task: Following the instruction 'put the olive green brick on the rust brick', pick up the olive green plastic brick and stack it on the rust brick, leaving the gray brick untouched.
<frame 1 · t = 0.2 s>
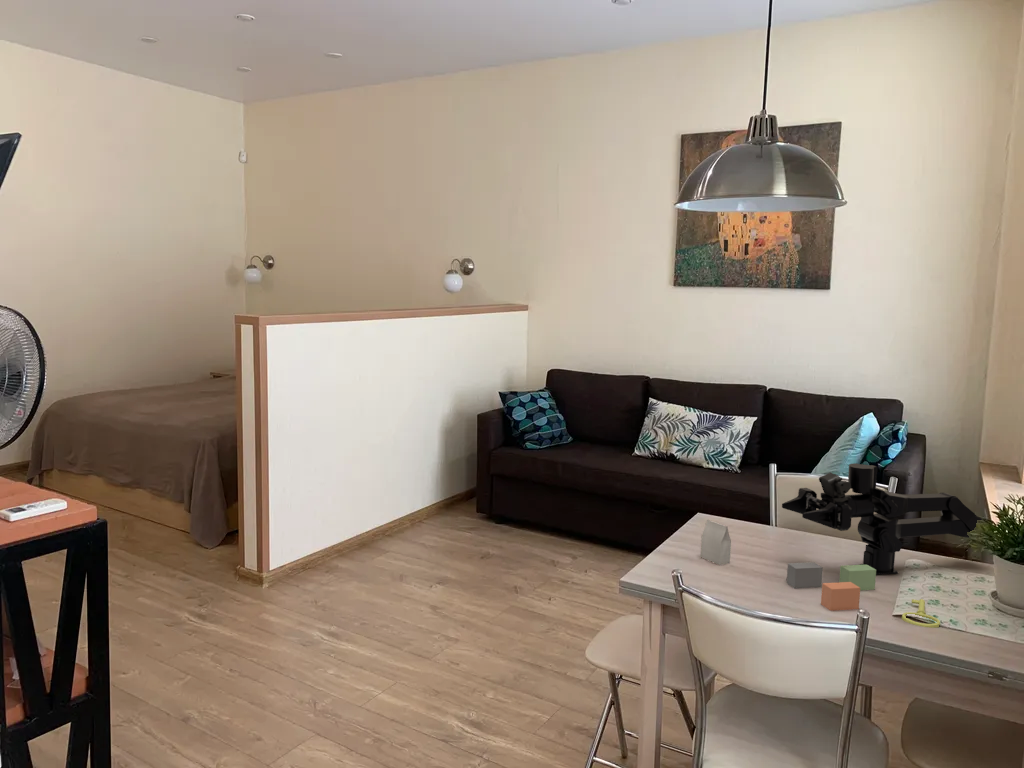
hand: (792, 510, 189), 16 cm above the table, tool horizontal, fingers open, 9 cm apart
gray brick: (803, 585, 184), on the table
rust brick: (839, 607, 172), on the table
green brick: (856, 587, 184), on the table
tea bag: (714, 561, 200), on the table
key: (920, 619, 167), on the table
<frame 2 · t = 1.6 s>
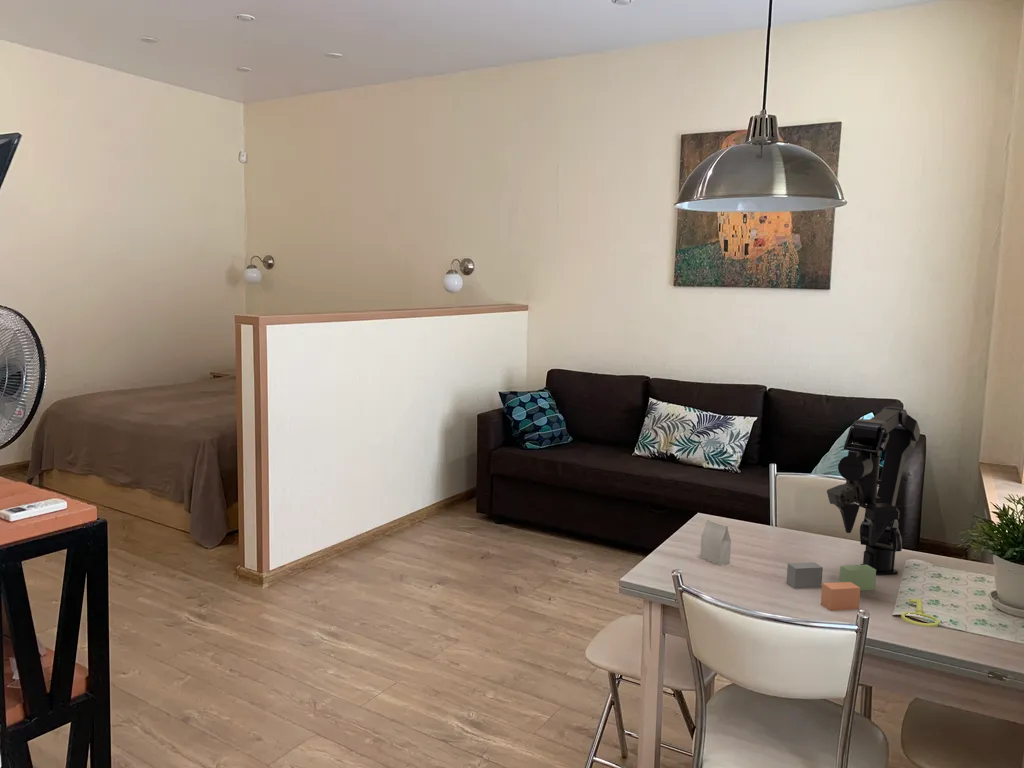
hand: (859, 538, 182), 12 cm above the table, tool pointing down, fingers open, 9 cm apart
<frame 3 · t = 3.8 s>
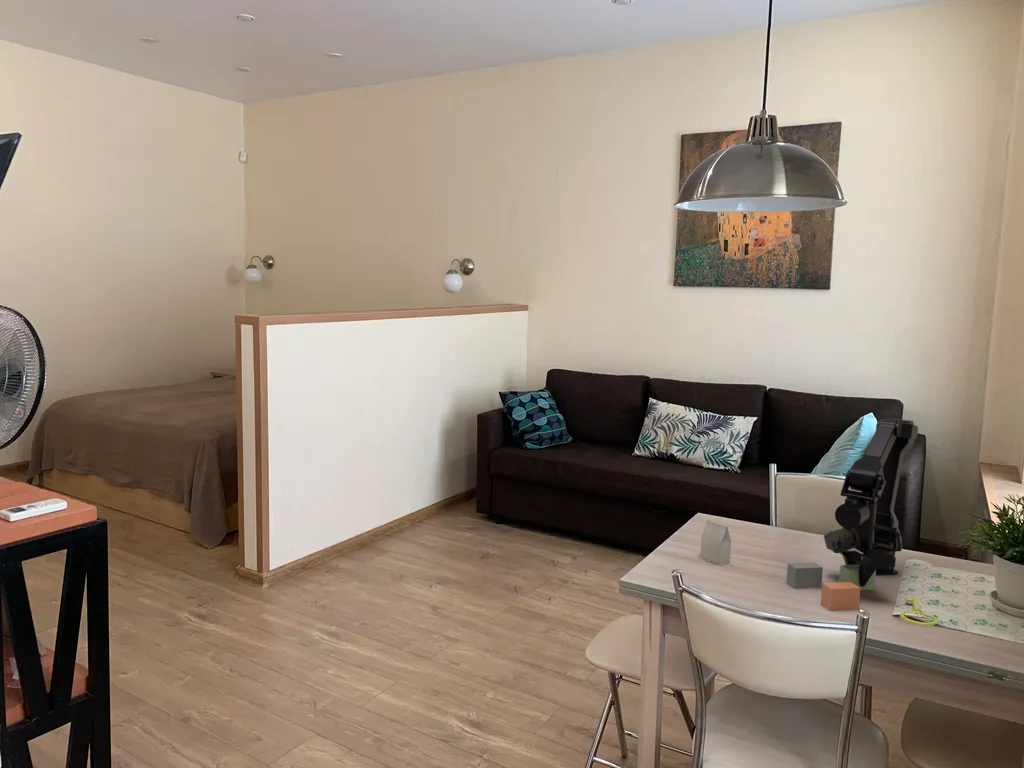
hand: (856, 583, 183), 1 cm above the table, tool pointing down, fingers closed on green brick, 4 cm apart
green brick: (856, 587, 184), on the table, touching gripper
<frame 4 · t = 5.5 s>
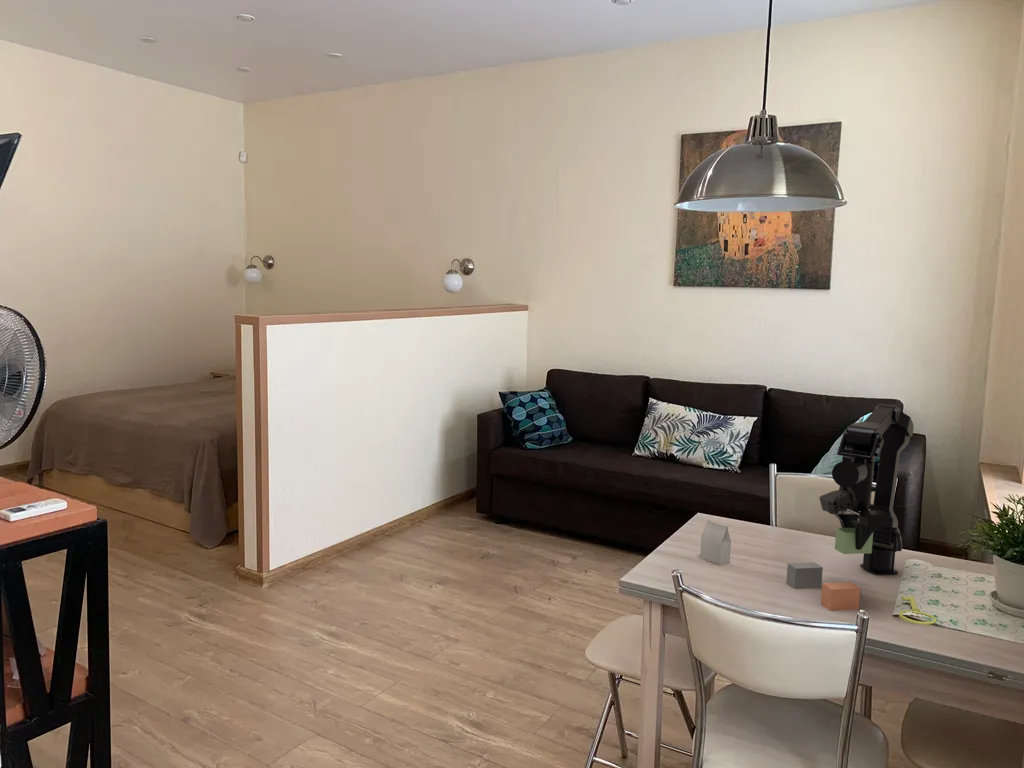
hand: (853, 546, 177), 12 cm above the table, tool pointing down, fingers closed on green brick, 4 cm apart
green brick: (852, 551, 178), point 11 cm above the table, touching gripper
when the fingers open (7 cm above the table, at t = 7.4 s): green brick drops 1 cm, resting on rust brick.
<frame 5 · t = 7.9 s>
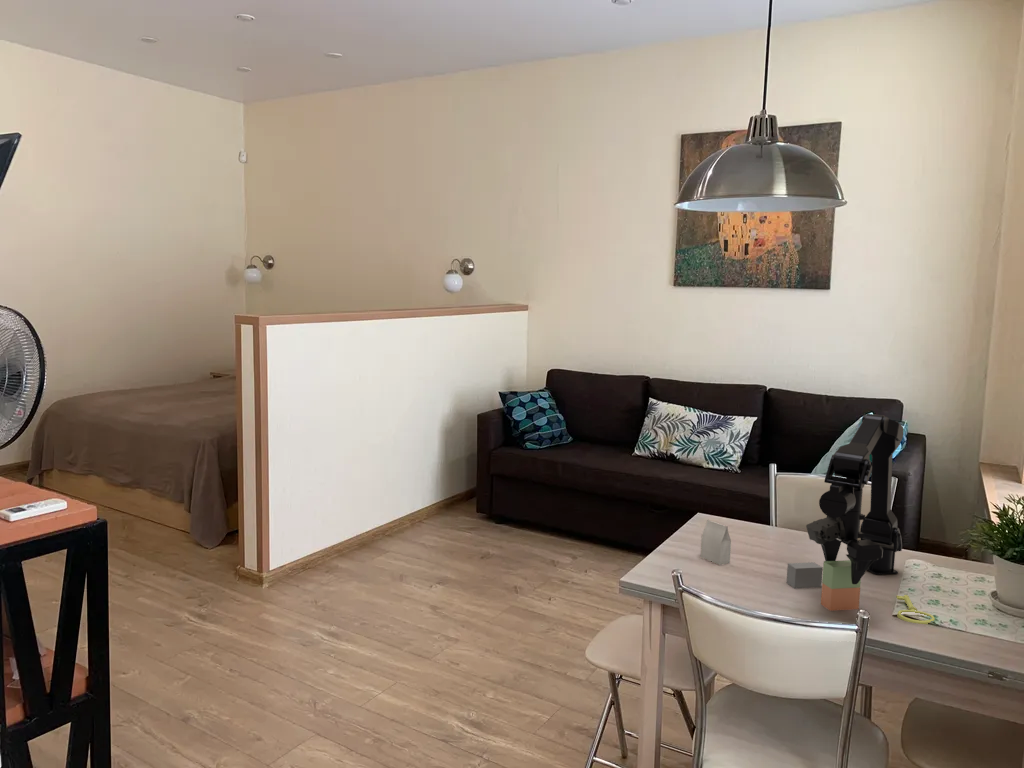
hand: (841, 576, 171), 7 cm above the table, tool pointing down, fingers open, 9 cm apart
rust brick: (839, 606, 172), on the table, touching green brick
green brick: (841, 585, 171), point 5 cm above the table, touching rust brick
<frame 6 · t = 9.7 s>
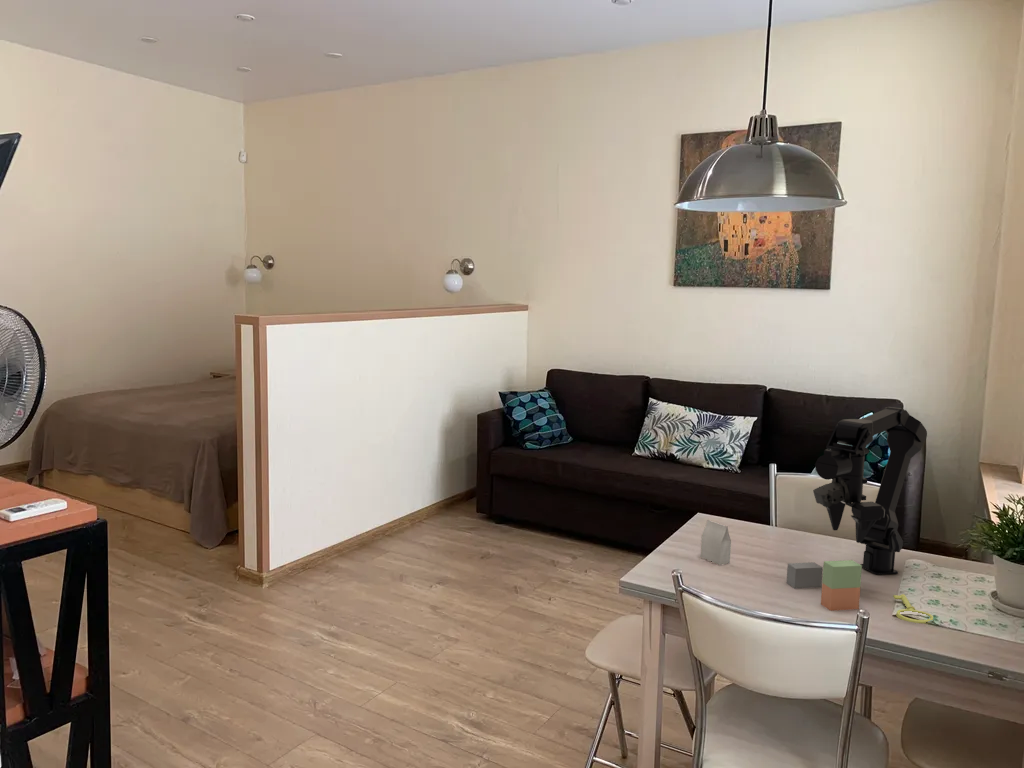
hand: (846, 536, 185), 12 cm above the table, tool pointing down, fingers open, 9 cm apart
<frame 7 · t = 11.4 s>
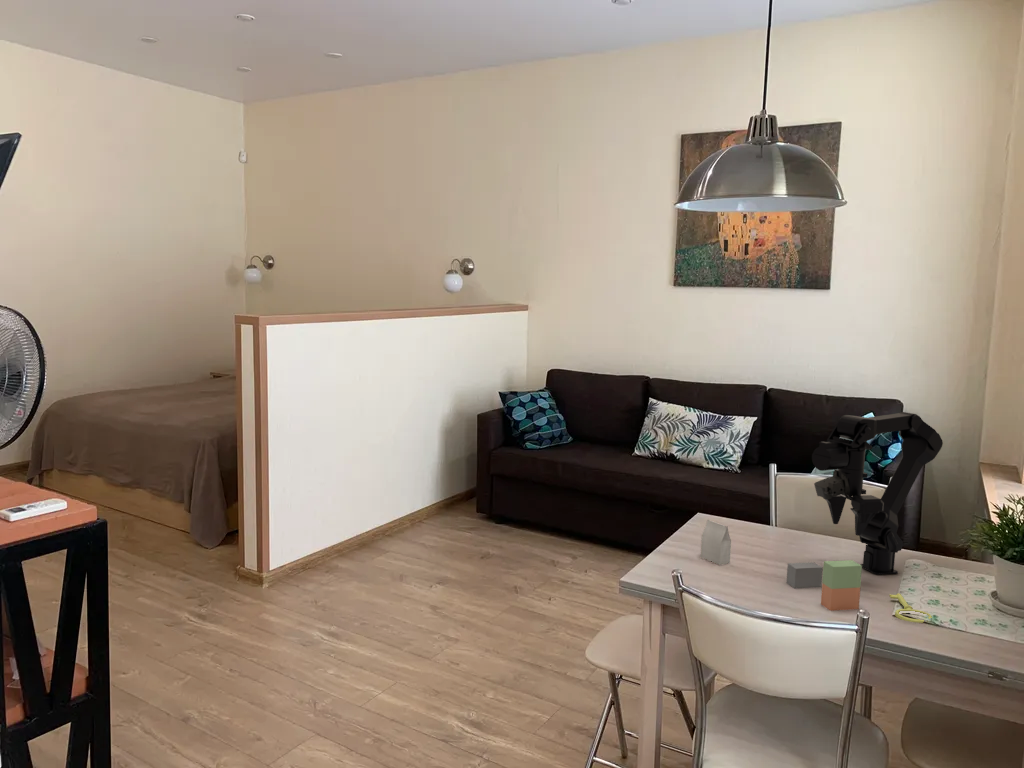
hand: (846, 529, 189), 12 cm above the table, tool pointing down, fingers open, 9 cm apart
at the end: green brick 0.1 cm off-centre on the rust brick, point 5.0 cm above the rust brick's base; gray brick moved 0.1 cm from its start; rust brick moved 0.1 cm from its start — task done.
